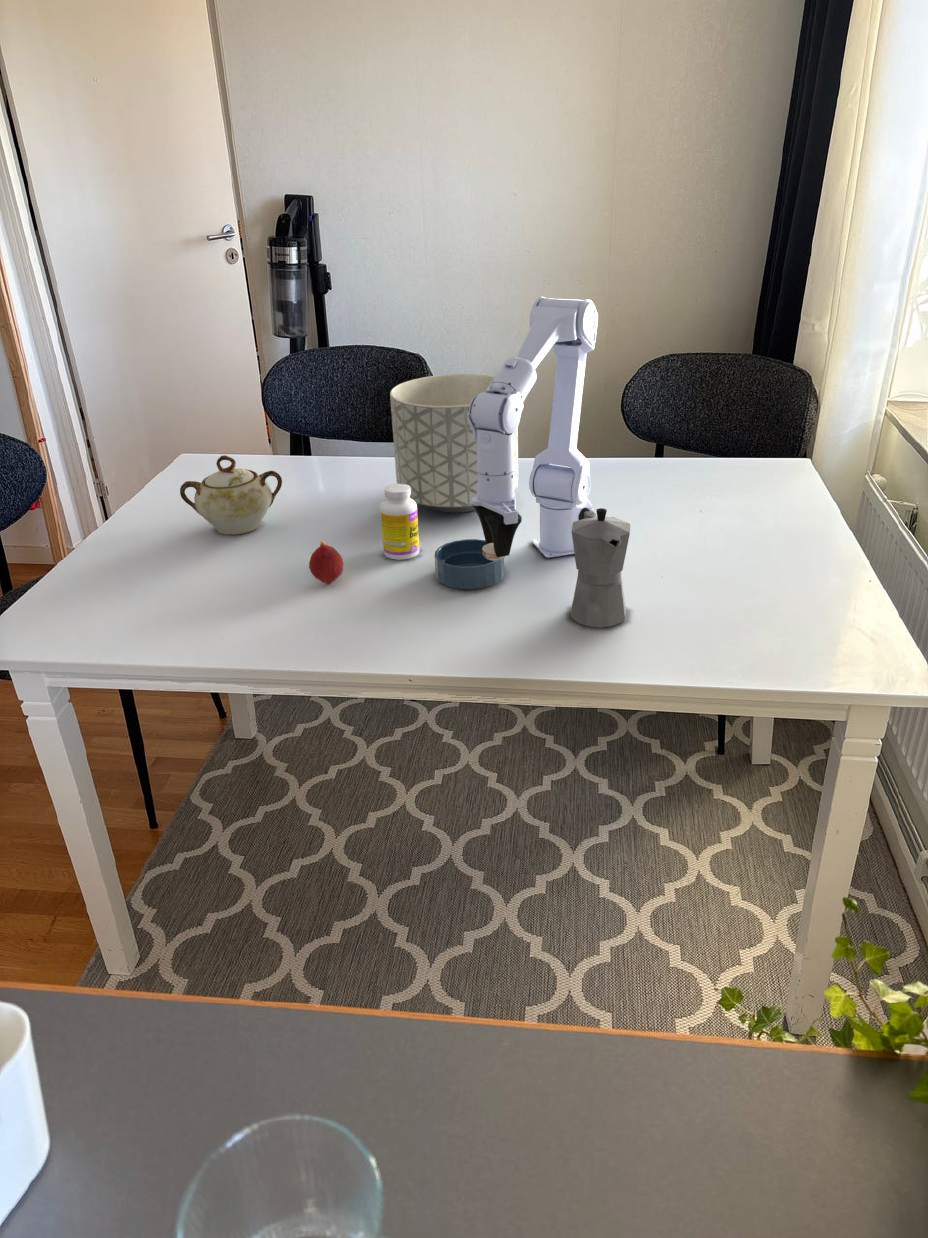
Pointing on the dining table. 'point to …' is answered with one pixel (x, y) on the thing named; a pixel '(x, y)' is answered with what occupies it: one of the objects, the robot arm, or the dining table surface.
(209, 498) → the sugar bowl
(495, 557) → the beige pebble
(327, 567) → the onion
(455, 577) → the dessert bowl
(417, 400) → the planter
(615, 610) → the coffeepot
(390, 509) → the supplement bottle
